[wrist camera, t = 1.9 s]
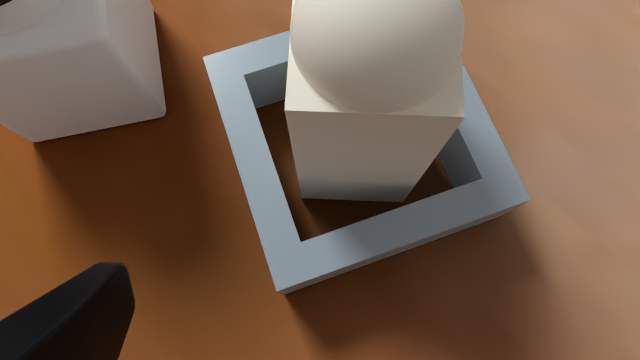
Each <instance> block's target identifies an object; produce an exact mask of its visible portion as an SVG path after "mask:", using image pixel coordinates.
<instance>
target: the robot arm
mask: <svg viewBox="0 0 640 360" xmlns="http://www.w3.org/2000/svg"><path fill="white" fill-rule="evenodd" d="M134 309H135V298H134V294H133V290H132V285H131V281H130V277H129V272H128V269H127V267H126V266H125V265H124V264H123V263H114V262H100V263H97V264H95V265H93V266H92V267H90V268H88V269H87V270H85V271H83V272H81V273H80V274H78V275H76V276H75V277H73V278H71V279H70V280H68V281H66V282H65V283H63V284H61V285H60V286H58V287H56V288H55V289H53V290H51V291H50V292H48V293H46V294H44V295H43V296H41V297H39V298H38V299H36V300H34V301H33V302H31V303H29V304H28V305H26V306H24V307H23V308H21V309H19V310H18V311H16V312H14V313H12V314H11V315H9V316H7V317H6V318H4V319H2V320H1V321H0V360H118V358H119V355H120V352H121V349H122V346H123V343H124V340H125V337H126V334H127V331H128V328H129V325H130V323H131V320H132V317H133V313H134Z"/></svg>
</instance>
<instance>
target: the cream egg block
mask: <svg viewBox="0 0 640 360" xmlns="http://www.w3.org/2000/svg"><path fill="white" fill-rule="evenodd" d="M464 34H465V21H464V12H463V6H462V3H461V0H293V1H292V15H291V23H290V42H289V56H288V69H287V83H286V96H285V110H284V111H285V116H286V121H287V126H288V131H289V136H290V141H291V147H292V152H293V157H294V162H295V167H296V172H297V178H298V183H299V188H300V193H301V198H310V199H334V200H358V201H382V202H403V201H404V200H405V199H406V197H407V196H408V194H409V193H410V192H411V190H412V189H413V188H414V186H415V185H416V184H417V182H418V181H419V179H420V178H421V177H422V175H423V174H424V173H425V171H426V170H427V168H428V167H429V166H430V164H431V163H432V162H433V160H434V159H435V157H436V156H437V155H438V153H439V152H440V151H441V149H442V148H443V147H444V145H445V144H446V142H447V141H448V140H449V138H450V137H451V136H452V134H453V133H454V131H455V130H456V129H457V127H458V126H459V125H460V123H461V122H462V121H463V119H464V118H465V108H464V89H463V70H462V46H463V40H464Z"/></svg>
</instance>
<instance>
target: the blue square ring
mask: <svg viewBox="0 0 640 360" xmlns="http://www.w3.org/2000/svg"><path fill="white" fill-rule="evenodd" d="M289 42H290V31H286V32H283V33H280V34H277V35H273V36H270V37H267V38H264V39H260V40H257V41H254V42H251V43H247V44H244V45H241V46H238V47H234V48H231V49H228V50H224V51H221V52H218V53H215V54H211V55H208V56H205V57H203V60H204V63H205V66H206V69H207V72H208V75H209V79H210V82H211V85H212V88H213V91H214V94H215V98H216V101H217V104H218V107H219V110H220V114H221V117H222V120H223V123H224V126H225V129H226V133H227V136H228V139H229V142H230V145H231V148H232V152H233V155H234V158H235V161H236V164H237V167H238V171H239V174H240V177H241V180H242V183H243V187H244V190H245V193H246V196H247V199H248V202H249V206H250V209H251V212H252V215H253V218H254V221H255V225H256V228H257V231H258V234H259V237H260V240H261V244H262V247H263V250H264V253H265V256H266V260H267V263H268V266H269V269H270V272H271V275H272V279H273V282H274V285H275V288H276V291H277V292H279V293H281V294H284V295H285V294H287V293H290V292H293V291H296V290H298V289H301V288H304V287H307V286H310V285H312V284H315V283H318V282H321V281H323V280H326V279H329V278H332V277H334V276H337V275H340V274H343V273H345V272H348V271H351V270H354V269H357V268H359V267H362V266H365V265H368V264H370V263H373V262H376V261H379V260H381V259H384V258H387V257H390V256H392V255H395V254H398V253H401V252H404V251H406V250H409V249H412V248H415V247H417V246H420V245H423V244H426V243H428V242H431V241H434V240H437V239H439V238H442V237H445V236H448V235H451V234H453V233H456V232H459V231H462V230H464V229H467V228H470V227H473V226H475V225H478V224H481V223H484V222H486V221H489V220H492V219H495V218H498V217H500V216H502V215H504V214H505V213H507V212H509V211H511V210H513V209H515V208H517V207H518V206H520V205H522V204H524V203H526V202H528V201H530V200H531V198H530V196H529V194H528V192H527V190H526V188H525V186H524V184H523V182H522V180H521V178H520V176H519V174H518V172H517V170H516V168H515V166H514V164H513V162H512V160H511V158H510V156H509V154H508V152H507V150H506V148H505V146H504V144H503V142H502V140H501V138H500V136H499V134H498V133H497V131H496V129H495V127H494V125H493V123H492V121H491V119H490V117H489V115H488V113H487V111H486V109H485V107H484V105H483V103H482V101H481V99H480V97H479V95H478V93H477V91H476V89H475V87H474V85H473V83H472V81H471V79H470V77H469V75H468V73H467V71H466V69H465V67H464V65H463V63H462V70H463V89H464V108H465V118H464V119H463V121H462V122H461V123H460V125H459V126H458V127H457V129H456V130H455V131H454V133H453V134H452V136H451V137H450V138H449V140H448V141H447V142H446V144H445V145H444V147H443V148H442V149H441V151H440V152H439V153H438V156H439V159H440V161H441V163H442V165H443V167H444V169H445V172H446V174H447V176H448V178H449V180H450V183H451V185H452V187H453V189H451V190H448V191H445V192H442V193H439V194H436V195H434V196H431V197H428V198H425V199H422V200H419V201H417V202H414V203H411V204H408V205H405V206H402V207H400V208H397V209H394V210H391V211H388V212H385V213H382V214H380V215H377V216H374V217H371V218H368V219H365V220H363V221H360V222H357V223H354V224H351V225H348V226H346V227H343V228H340V229H337V230H334V231H331V232H328V233H326V234H323V235H320V236H317V237H314V238H311V239H309V240H306V241H303V242H300V239H299V236H298V233H297V230H296V227H295V224H294V221H293V218H292V215H291V212H290V209H289V206H288V204H287V201H286V198H285V195H284V192H283V189H282V186H281V183H280V180H279V177H278V174H277V171H276V168H275V165H274V162H273V160H272V157H271V154H270V151H269V148H268V145H267V142H266V139H265V136H264V133H263V130H262V127H261V124H260V121H259V118H258V116H257V113H256V110H255V109H257V108H260V107H263V106H266V105H269V104H272V103H275V102H278V101H282V100H285V96H286V83H287V69H288V56H289Z"/></svg>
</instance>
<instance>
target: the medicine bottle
mask: <svg viewBox="0 0 640 360" xmlns="http://www.w3.org/2000/svg"><path fill="white" fill-rule="evenodd" d="M165 114H166V105H165V97H164V89H163V82H162V74H161V66H160V58H159V51H158V43H157V35H156V27H155V20H154V12H153V6H152V4H151V3H150V1H149V0H0V124H1V125H3V126H4V127H6V128H8V129H10V130H11V131H13V132H15V133H16V134H18V135H20V136H22V137H23V138H25V139H27V140H29V141H30V142H40V141H45V140H50V139H55V138H60V137H65V136H70V135H75V134H80V133H85V132H90V131H95V130H100V129H105V128H110V127H115V126H120V125H125V124H130V123H135V122H141V121H146V120H151V119H156V118H161V117H163V116H164V115H165Z"/></svg>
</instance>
